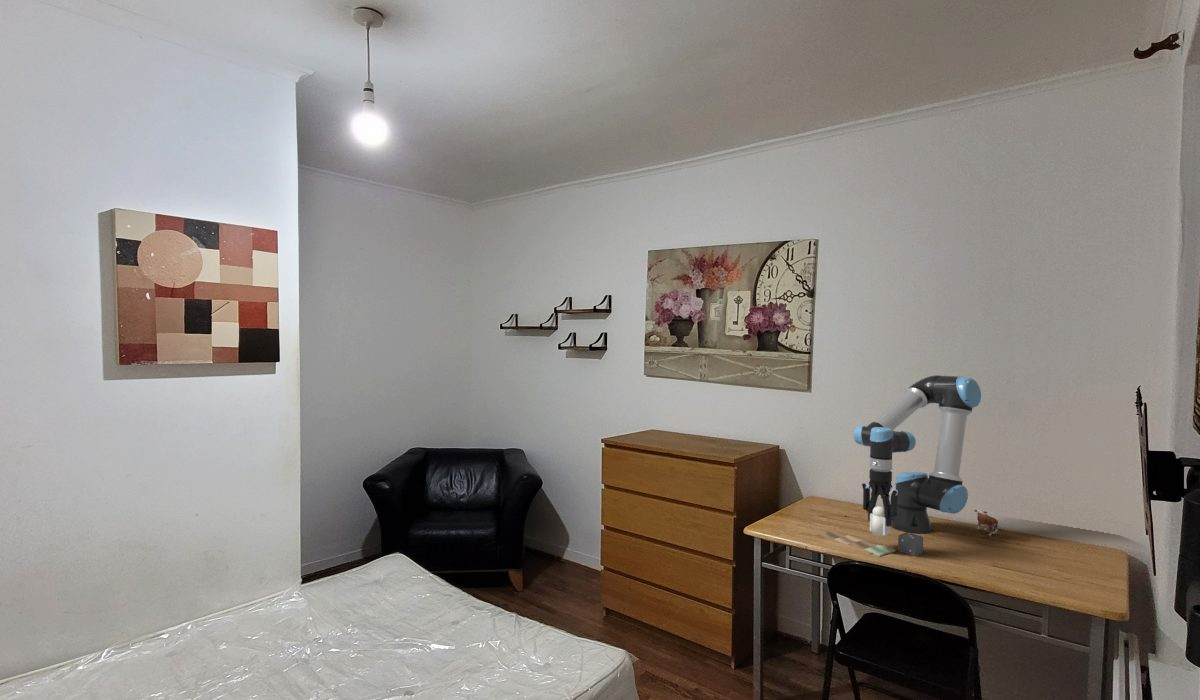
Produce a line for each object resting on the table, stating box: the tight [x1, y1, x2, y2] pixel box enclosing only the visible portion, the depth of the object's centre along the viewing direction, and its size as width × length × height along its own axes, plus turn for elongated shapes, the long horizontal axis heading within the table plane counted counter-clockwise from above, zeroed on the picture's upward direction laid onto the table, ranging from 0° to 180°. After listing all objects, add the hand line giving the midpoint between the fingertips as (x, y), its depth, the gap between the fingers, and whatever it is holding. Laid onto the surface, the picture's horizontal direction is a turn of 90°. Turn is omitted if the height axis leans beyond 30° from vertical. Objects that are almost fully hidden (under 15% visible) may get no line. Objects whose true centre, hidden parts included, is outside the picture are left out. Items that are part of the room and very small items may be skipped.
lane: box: [818, 530, 896, 557], centre depth 228 cm, size 10×26×1 cm, turn 33°
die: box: [897, 532, 924, 557], centre depth 219 cm, size 6×6×6 cm
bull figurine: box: [974, 508, 999, 536], centre depth 244 cm, size 4×13×8 cm, turn 174°
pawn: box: [871, 505, 886, 537], centre depth 219 cm, size 5×5×10 cm
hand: (879, 532), depth 219 cm, fingers closed on pawn, 4 cm apart
